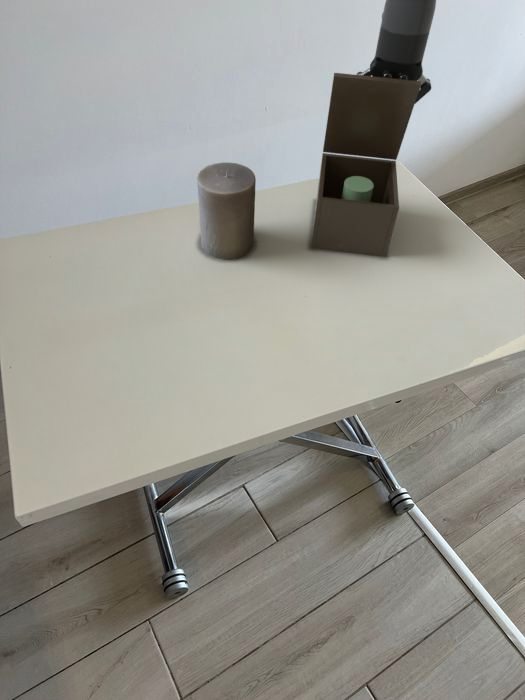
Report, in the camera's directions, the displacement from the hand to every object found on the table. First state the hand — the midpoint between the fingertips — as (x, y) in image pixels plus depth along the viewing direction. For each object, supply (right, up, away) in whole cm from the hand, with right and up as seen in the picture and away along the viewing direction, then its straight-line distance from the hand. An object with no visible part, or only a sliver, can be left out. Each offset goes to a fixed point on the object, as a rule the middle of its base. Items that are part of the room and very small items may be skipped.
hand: (382, 132), depth 94 cm
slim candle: (-5, -15, +6) cm, 17 cm away
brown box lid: (-3, 0, -4) cm, 5 cm away
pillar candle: (-28, -20, +2) cm, 34 cm away
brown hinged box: (-5, -16, +7) cm, 18 cm away
